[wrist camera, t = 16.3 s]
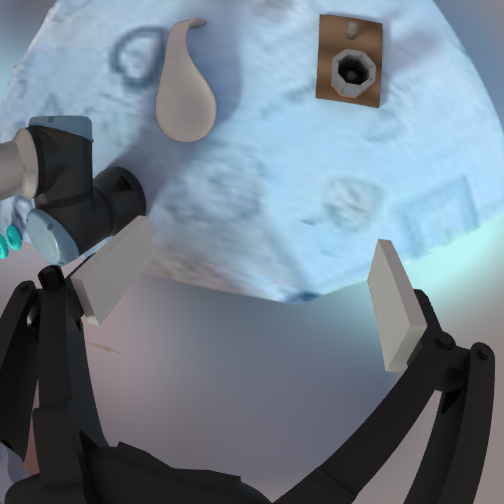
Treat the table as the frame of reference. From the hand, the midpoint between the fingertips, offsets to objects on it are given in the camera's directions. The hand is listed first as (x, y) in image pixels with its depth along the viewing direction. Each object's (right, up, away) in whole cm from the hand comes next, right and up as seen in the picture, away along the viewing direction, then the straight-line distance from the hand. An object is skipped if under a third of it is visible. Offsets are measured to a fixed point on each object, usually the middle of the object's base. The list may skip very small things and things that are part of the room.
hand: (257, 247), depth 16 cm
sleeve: (+14, +26, +20) cm, 36 cm away
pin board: (+15, +30, +20) cm, 39 cm away
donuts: (-88, +6, +64) cm, 109 cm away
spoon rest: (-11, +31, +28) cm, 43 cm away
